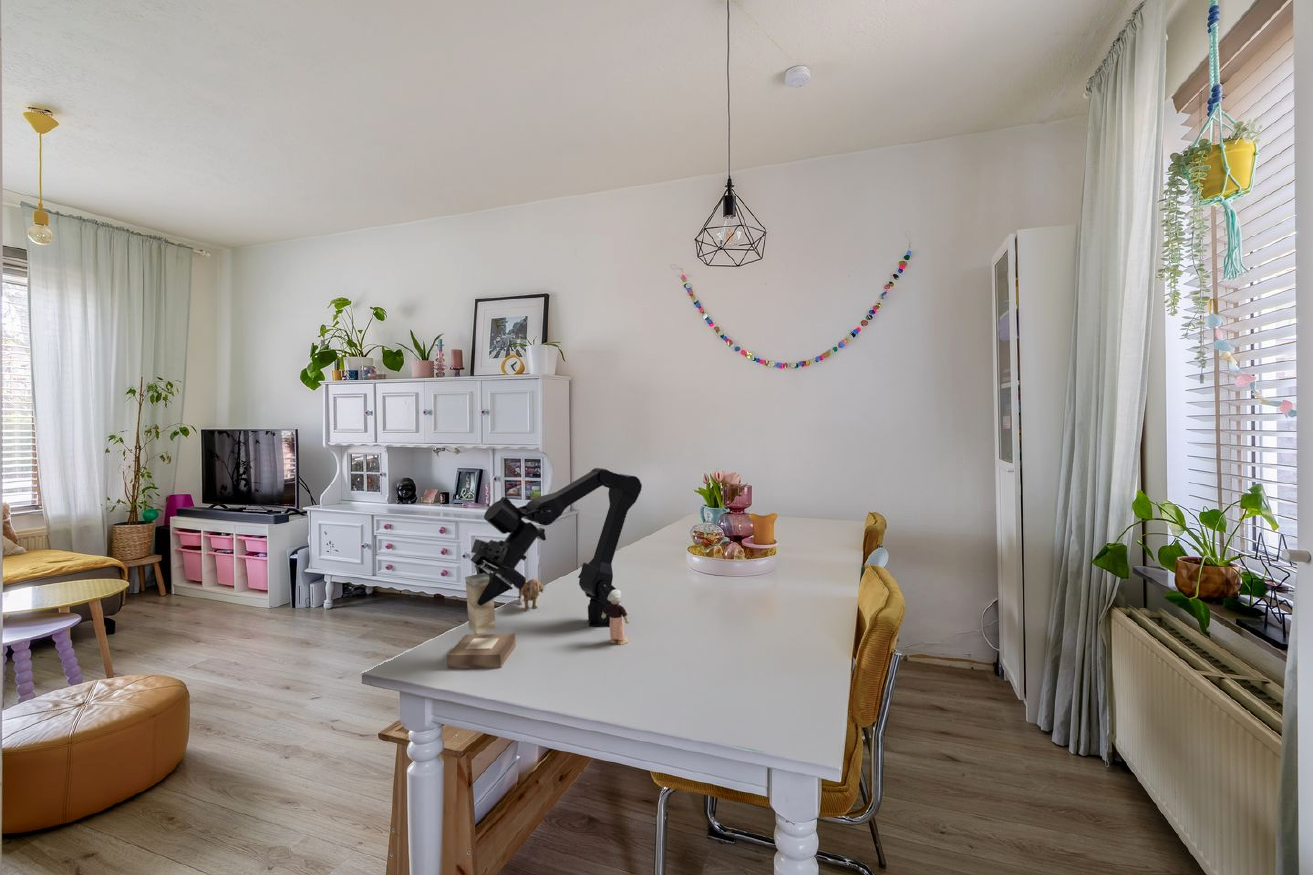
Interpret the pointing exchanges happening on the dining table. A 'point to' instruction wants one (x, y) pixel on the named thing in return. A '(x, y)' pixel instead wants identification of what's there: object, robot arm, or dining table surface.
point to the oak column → (479, 615)
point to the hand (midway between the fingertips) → (474, 601)
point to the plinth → (481, 651)
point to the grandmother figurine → (616, 617)
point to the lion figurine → (530, 593)
